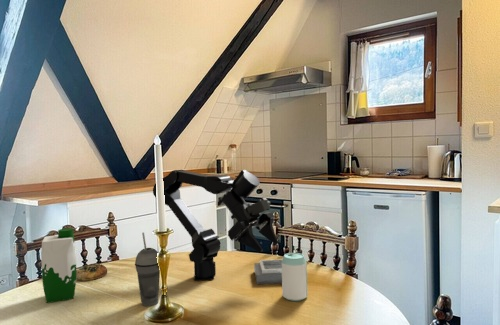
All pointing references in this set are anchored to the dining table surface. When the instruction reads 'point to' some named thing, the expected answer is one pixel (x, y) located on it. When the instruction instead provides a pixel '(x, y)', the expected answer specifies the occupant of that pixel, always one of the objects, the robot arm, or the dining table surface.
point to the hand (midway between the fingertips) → (269, 247)
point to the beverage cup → (148, 275)
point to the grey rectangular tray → (268, 271)
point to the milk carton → (59, 266)
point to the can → (294, 277)
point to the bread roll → (91, 272)
